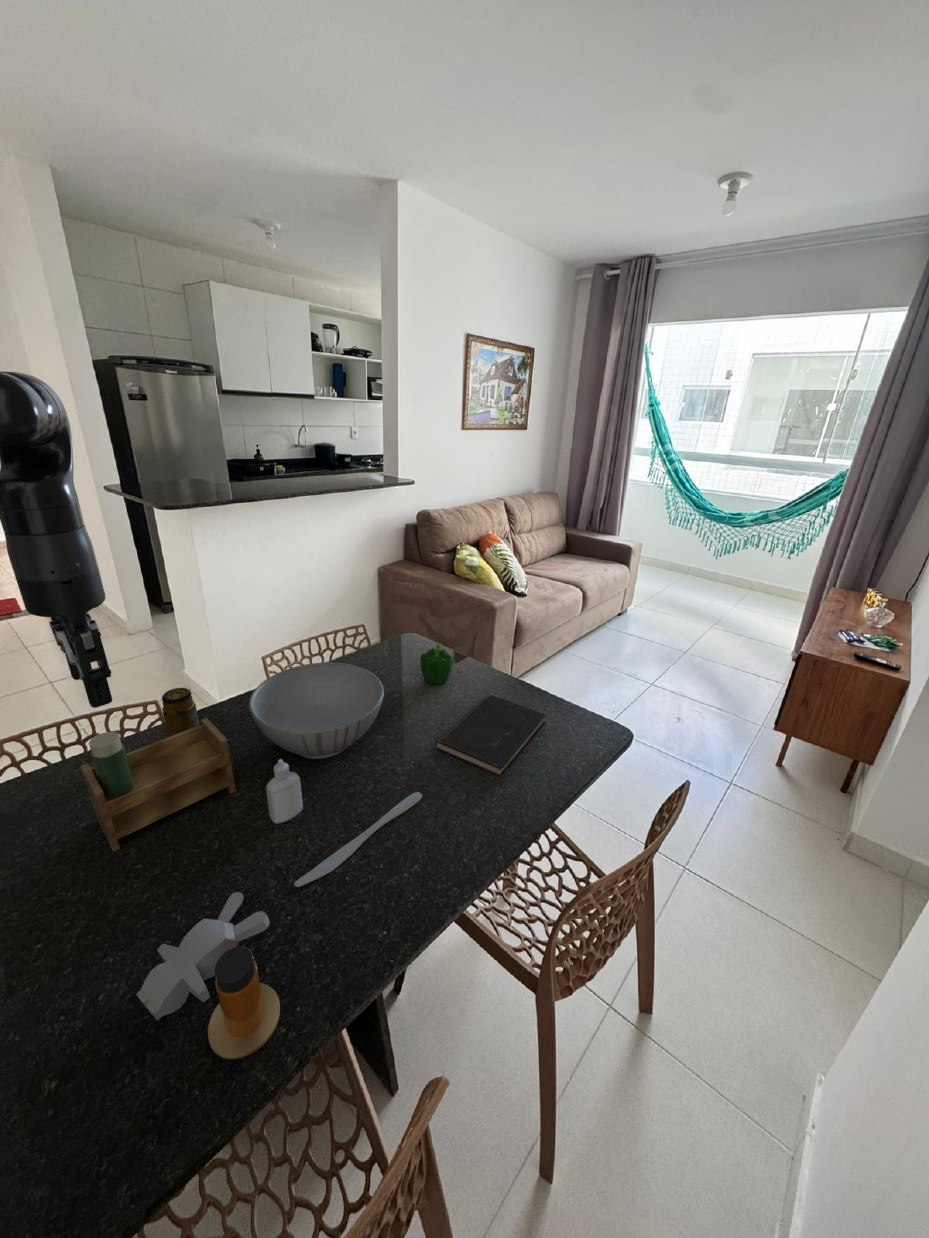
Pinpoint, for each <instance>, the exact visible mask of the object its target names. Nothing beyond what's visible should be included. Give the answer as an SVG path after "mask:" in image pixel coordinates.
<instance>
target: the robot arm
mask: <svg viewBox="0 0 929 1238" xmlns="http://www.w3.org/2000/svg"><path fill="white" fill-rule="evenodd" d="M72 437H73V436H72V429H71V424H70V420H69V416H68V414H67V411H66V408H65V405H64V403H63V402H62V400H61V398H60V396H59V395H58V394H57V393H56V391H55V390H54V389H53V388H52V387H51V386H50V385H49V384H47V383H46V382H44V380H41V379H39V378H38V377H36V376H33V375H32V374H28V373H25V372H18V371H0V524H1V527H2V531H4V532H3V535H4V537H5V545H6V546H5V547H6V551H7V555H8V559H9V562H10V566H11V569H12V572H13V575H14V578H15V580H16V583H17V587H18V590H19V593H20V596H21V599H22V602H23V605H24V608H25V610H26V612H27V613H28V614H30V615H32V616H35V617H41V618H50V621H48V622H49V623H48V624H49V627H50V629H51V632H52V634H53V637H54V640H55V642H56V645H57V647H59V649H60V651H61V652H62V653H63V654H64V655H65V659H66V662H67V665H68V669H69V672H70V676H71V678H72V679H73V680H75V681H79V680H80V681H82V683H83V686H84V690H85V693H86V697H87V700H88V703H89V706H90V707H91V708H93V709H96V708H99V707H103V706H106V705H109V704H111V703H112V702H113V697H112V693H111V688H110V685H109V681H108V678H112V670H111V669H110V666H109V662H108V659H107V655H106V651H105V648H104V644H103V641H102V637H101V636H102V633H101V630H99V626H98V624H97V621H96V619H92V616H91V614H90V613H89V612H90V611H91V610H93V609H96V608H98V607H100V606H101V605H102V604H103V603H104V602H105V601H106V593H105V589H104V583H103V581H102V576H101V572H100V569H99V564H98V560H97V557H96V553H95V548H94V545H93V542H92V539H91V537H90V535H89V533H88V530H87V527H86V525H85V520H84V516H83V512H82V508H81V505H80V500H79V496H78V494H77V491H76V488H75V483H74V452H73V450H74V449H73V439H72ZM91 663H96V664H97V667H95V668H93V667H92V664H91Z"/></svg>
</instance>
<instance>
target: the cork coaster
mask: <svg viewBox="0 0 929 1238" xmlns="http://www.w3.org/2000/svg"><path fill="white" fill-rule="evenodd" d="M260 986H261V992H262V997H263V1003H264V1017H263V1019H262V1021H261V1023H260V1025H259V1026H258V1027H257V1028H256V1030H254V1031H253V1032H252V1033H251V1034H249V1035H247V1036H244V1037H239V1038H237V1037H233V1036H231V1035H229V1034H228V1032H227V1031H226V1028H225V1024H224V1019H223V1015H222V1011H221V1007H220V1003H218V1004H217V1006H216V1007H215V1008H214V1011H213V1012H212V1014H211V1016H210V1018H209V1022H208V1026H207V1038H208V1044H209V1045H210V1048H211V1049H212V1051H213V1052H214V1053H215V1054H216V1055H217V1056H218V1057H219V1058H222V1059H226V1060H240V1059H242V1058H246V1057H248V1056H251V1055H252V1054H254V1053H255V1052H257V1051H258V1050H259V1049H261V1048H262V1047H263V1046H264V1045H265V1044H266V1043H267V1042H268V1040H269V1039H270V1038H271V1037H272V1035H273V1033H274V1032H275V1030H276V1029H277V1026H278V1023H279V1019H280V1016H281V1015H280V1014H281V1004H280V998H279V996H278V994H277V992H276V991H275V990H274V989H273V988H272V987H271V986H269V985H268V984H265V983H262V982H260Z"/></svg>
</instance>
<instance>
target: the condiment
mask: <svg viewBox="0 0 929 1238" xmlns="http://www.w3.org/2000/svg"><path fill="white" fill-rule="evenodd" d="M161 701H162V708H161V712H162V716H163V721H164V725H165V730H166V735H167V738H168V737H171V736H173V735H176V734H179V733H181V732H184V731H186V730H189V729H191V728H194V727H197V726H199V725H200V720H199V715H198V710H197V709H198V708H197V705H196V702H195V700H194V699H193V696H192V691H191V689H189V688H186V687H176V688H172V689H169V690H167V691H165V692H164V693H163V694H162V696H161Z"/></svg>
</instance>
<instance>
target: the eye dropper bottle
mask: <svg viewBox="0 0 929 1238" xmlns="http://www.w3.org/2000/svg"><path fill="white" fill-rule="evenodd" d="M273 774H274V777H273V778H271V779H270V780H269V782H268V783H266V787H265V791H266V798H267V800H266V801H267V808H268V814H269V819H270V820H271V821H272V823H274V824H275V825H279V824H282V823H285V822H288V821H290V820H292V819H294V818H295V817H297V816H298V815H299V814H301V812H302V811H303V810H304V803H303V795H302V794H303V792H302V784H301V778H300V776H299V774H297V773H296V772H295V771H290V766H289V763H287V762H284V760H283V759H282V758H280V759H278V760H277V763H276V764H275V765H274V766H273Z"/></svg>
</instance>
